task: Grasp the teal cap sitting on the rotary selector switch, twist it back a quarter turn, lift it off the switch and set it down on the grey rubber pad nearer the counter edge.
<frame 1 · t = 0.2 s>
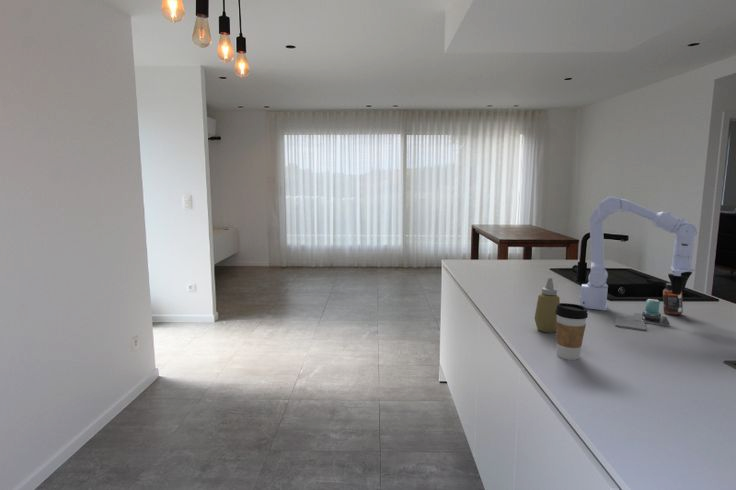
hand: (678, 292, 156), 10 cm above the worktop, tool pointing down, fingers open, 7 cm apart
supplement bottle: (673, 313, 163), on the worktop, touching gripper
cap: (651, 313, 155), point 2 cm above the worktop, touching rotary selector switch
squeeze bottle: (546, 330, 145), on the worktop
rotary selector switch: (650, 320, 156), on the worktop
pad: (629, 324, 150), on the worktop
coffee cup: (567, 356, 124), on the worktop
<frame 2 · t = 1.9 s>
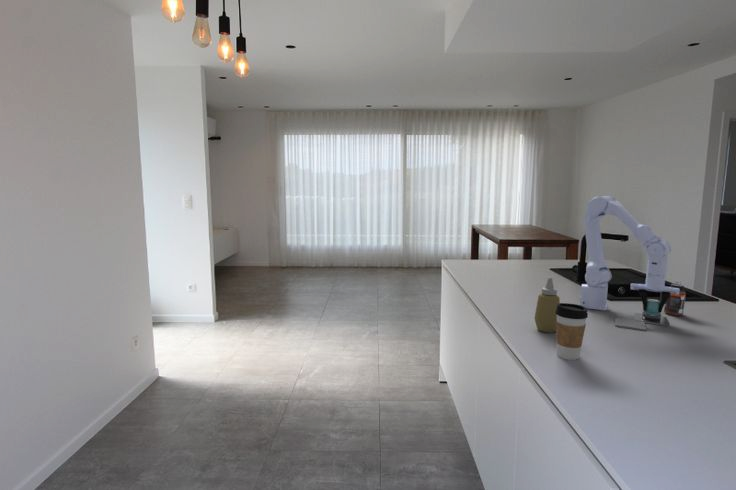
hand: (651, 311, 155), 3 cm above the worktop, tool pointing down, fingers closed on cap, 4 cm apart
supplement bottle: (672, 314, 163), on the worktop
cap: (651, 313, 155), point 2 cm above the worktop, touching gripper, rotary selector switch
everything else where it was.
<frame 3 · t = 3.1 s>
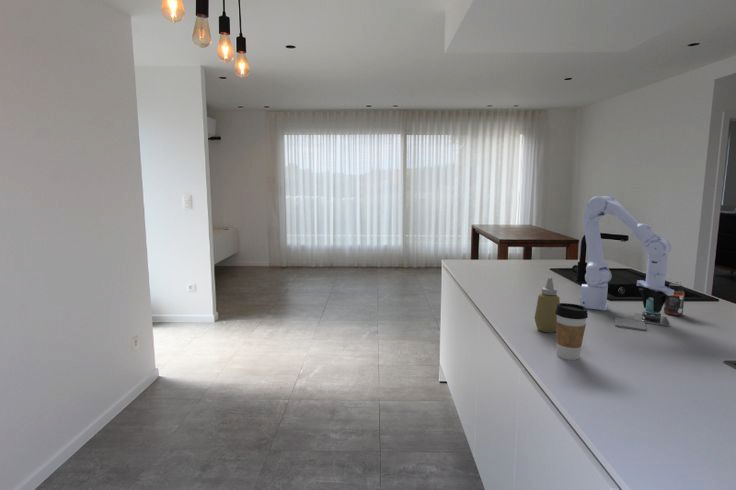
hand: (652, 309, 155), 4 cm above the worktop, tool pointing down, fingers closed on cap, 4 cm apart
cap: (651, 312, 155), point 3 cm above the worktop, touching gripper
everything else where it was.
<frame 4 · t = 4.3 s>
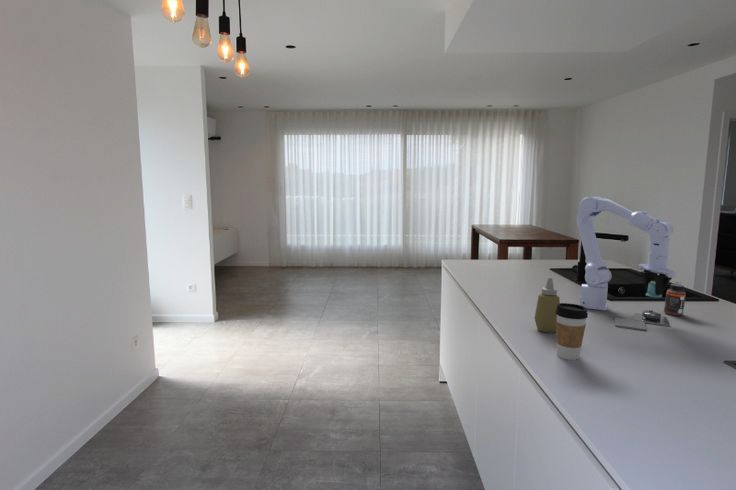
hand: (653, 292, 154), 10 cm above the worktop, tool pointing down, fingers closed on cap, 4 cm apart
cap: (653, 295, 154), point 9 cm above the worktop, touching gripper
everything else where it was.
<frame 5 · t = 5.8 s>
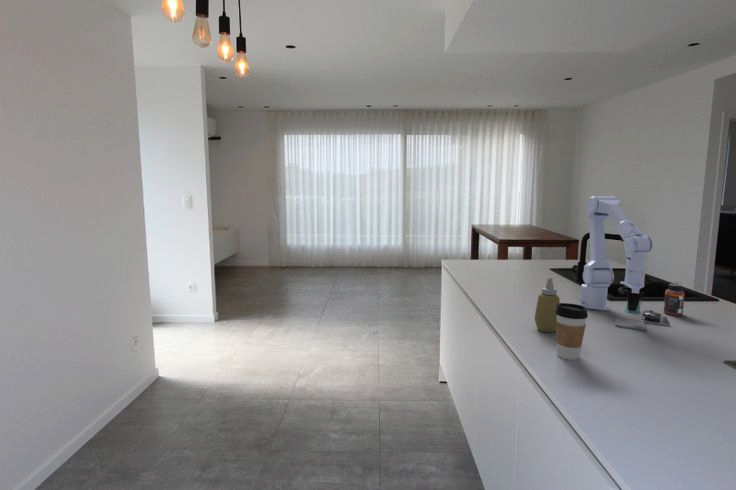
hand: (631, 308, 149), 6 cm above the worktop, tool pointing down, fingers closed on cap, 4 cm apart
cap: (632, 312, 149), point 5 cm above the worktop, touching gripper
everything else where it was.
when the fingers open (3 cm above the worktop, at t = 6.8 s): cap stays where it is, resting on pad.
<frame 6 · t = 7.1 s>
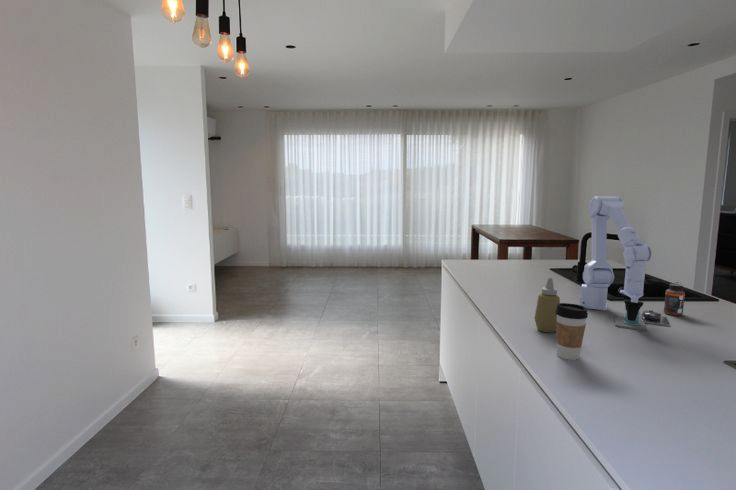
hand: (630, 317, 150), 3 cm above the worktop, tool pointing down, fingers open, 6 cm apart
cap: (631, 323, 150), point 1 cm above the worktop, touching pad
everything else where it was.
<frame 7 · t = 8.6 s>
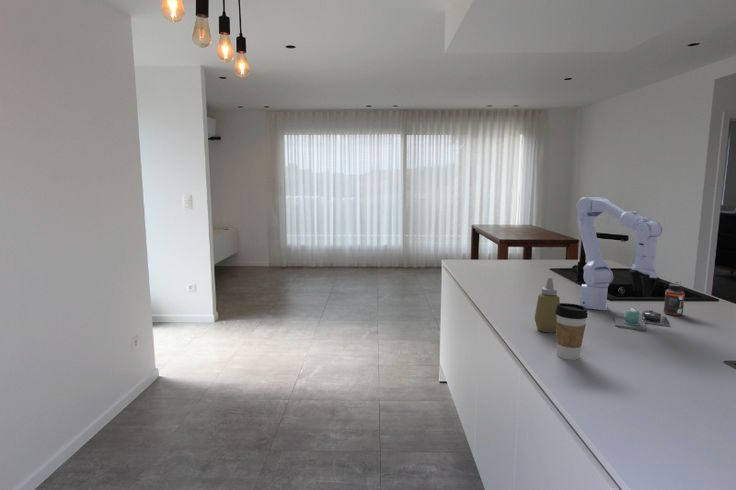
hand: (641, 293, 152), 10 cm above the worktop, tool pointing down, fingers open, 7 cm apart
nothing on the worktop moved.
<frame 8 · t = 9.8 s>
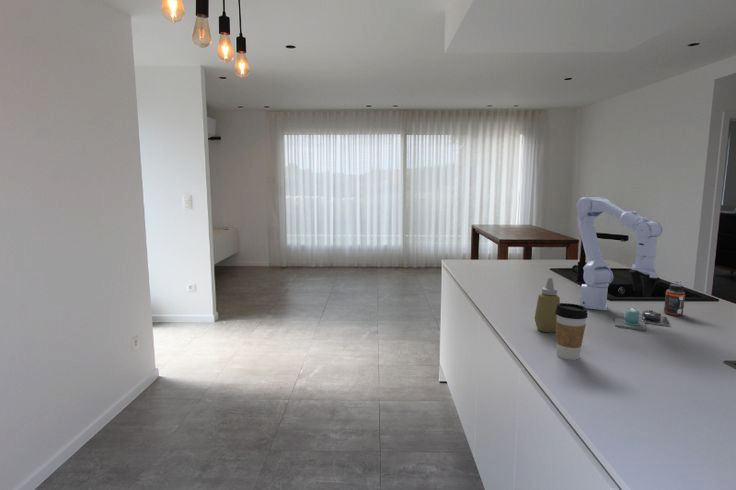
hand: (641, 293, 153), 10 cm above the worktop, tool pointing down, fingers open, 7 cm apart
nothing on the worktop moved.
at the end: cap inside the target area on the pad (0.5 cm from its centre), point 0.6 cm above the pad's base; cap tilted 0°; the gripper is holding nothing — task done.
